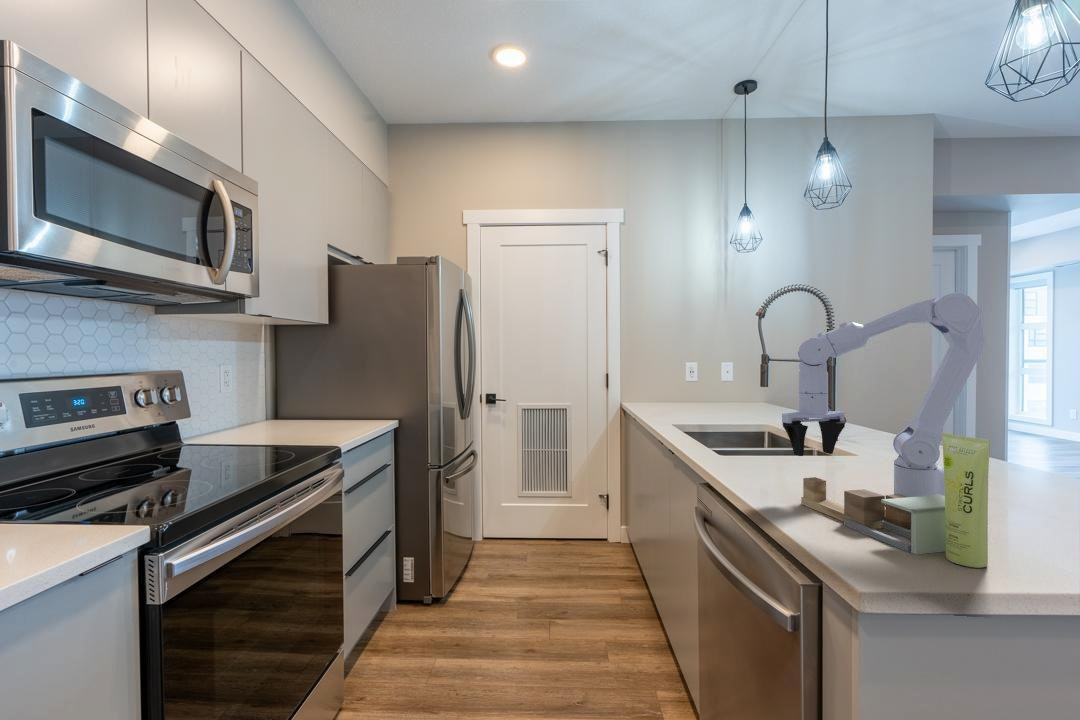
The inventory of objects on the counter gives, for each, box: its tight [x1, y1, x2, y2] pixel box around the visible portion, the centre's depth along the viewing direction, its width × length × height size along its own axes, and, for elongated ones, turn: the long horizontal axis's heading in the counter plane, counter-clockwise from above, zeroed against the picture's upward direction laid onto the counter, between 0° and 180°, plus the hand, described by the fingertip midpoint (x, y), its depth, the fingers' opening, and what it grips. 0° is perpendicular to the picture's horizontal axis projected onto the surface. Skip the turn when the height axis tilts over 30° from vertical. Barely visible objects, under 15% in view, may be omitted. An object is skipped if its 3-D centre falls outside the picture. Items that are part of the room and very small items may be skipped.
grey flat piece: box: [843, 519, 911, 553], centre depth 90 cm, size 13×13×2 cm
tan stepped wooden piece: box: [800, 476, 883, 530], centre depth 100 cm, size 4×16×6 cm, turn 12°
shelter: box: [881, 495, 946, 555], centre depth 85 cm, size 12×6×7 cm, turn 102°
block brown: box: [884, 493, 911, 530], centre depth 96 cm, size 4×8×6 cm, turn 12°
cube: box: [843, 489, 886, 522], centre depth 94 cm, size 4×4×4 cm
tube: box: [941, 432, 991, 569], centre depth 78 cm, size 6×5×20 cm
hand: (813, 454), depth 112 cm, fingers open, 7 cm apart
